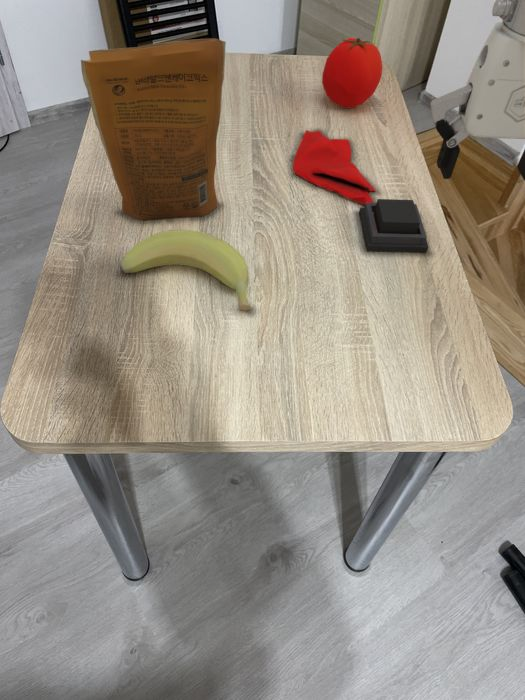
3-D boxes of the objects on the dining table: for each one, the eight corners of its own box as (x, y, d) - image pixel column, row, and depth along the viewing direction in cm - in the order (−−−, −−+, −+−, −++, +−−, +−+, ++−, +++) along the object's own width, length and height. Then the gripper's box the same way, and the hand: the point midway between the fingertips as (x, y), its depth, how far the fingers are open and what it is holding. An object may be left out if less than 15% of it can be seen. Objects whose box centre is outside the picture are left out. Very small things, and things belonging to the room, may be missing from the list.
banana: (178, 198, 83) (274, 274, 77) (184, 220, 88) (275, 293, 82) (111, 255, 79) (206, 339, 73) (122, 274, 84) (211, 354, 79)
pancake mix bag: (229, 221, 91) (229, 46, 69) (114, 229, 89) (75, 51, 67) (224, 197, 95) (222, 24, 73) (114, 204, 93) (77, 27, 71)
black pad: (408, 215, 92) (413, 199, 90) (414, 238, 89) (420, 222, 86) (373, 214, 92) (377, 198, 90) (378, 237, 88) (383, 221, 86)
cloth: (279, 133, 109) (280, 123, 107) (344, 130, 111) (346, 119, 109) (309, 214, 93) (311, 204, 92) (384, 208, 95) (387, 198, 94)
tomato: (315, 90, 121) (323, 26, 110) (368, 90, 122) (381, 27, 111) (323, 118, 114) (333, 52, 103) (380, 117, 115) (395, 52, 104)
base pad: (415, 214, 95) (419, 201, 93) (426, 252, 89) (431, 240, 86) (358, 212, 94) (361, 200, 92) (366, 251, 88) (369, 238, 86)
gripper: (467, 28, 49) (418, 190, 62) (652, 34, 49) (565, 193, 63) (448, -2, 54) (407, 154, 67) (618, 4, 54) (543, 158, 67)
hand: (483, 173), depth 65 cm, fingers open, 9 cm apart
